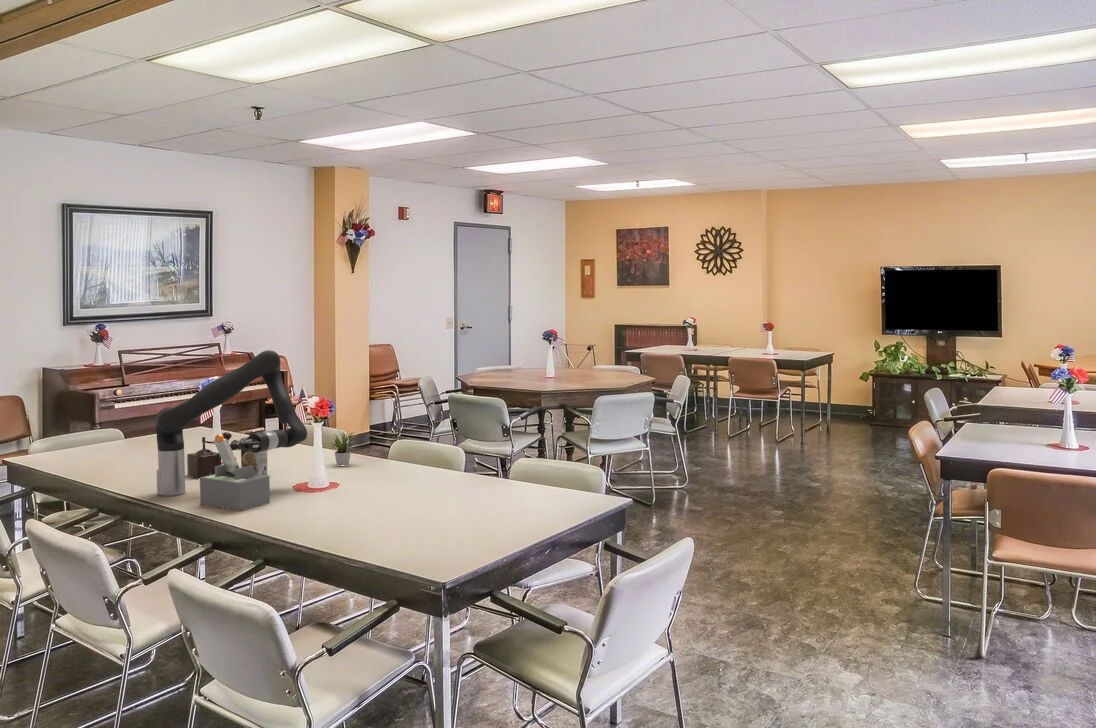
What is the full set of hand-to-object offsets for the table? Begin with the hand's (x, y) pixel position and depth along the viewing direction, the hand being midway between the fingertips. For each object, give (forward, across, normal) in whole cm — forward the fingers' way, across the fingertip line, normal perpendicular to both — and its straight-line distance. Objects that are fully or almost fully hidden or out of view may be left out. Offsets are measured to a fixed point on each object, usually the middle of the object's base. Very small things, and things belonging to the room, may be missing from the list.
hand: (226, 448), depth 293 cm
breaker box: (-4, 0, +21) cm, 21 cm away
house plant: (-77, -11, +20) cm, 80 cm away
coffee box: (-42, -30, +21) cm, 56 cm away
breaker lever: (-4, 0, +11) cm, 11 cm away
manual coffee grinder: (-35, -48, +21) cm, 63 cm away
